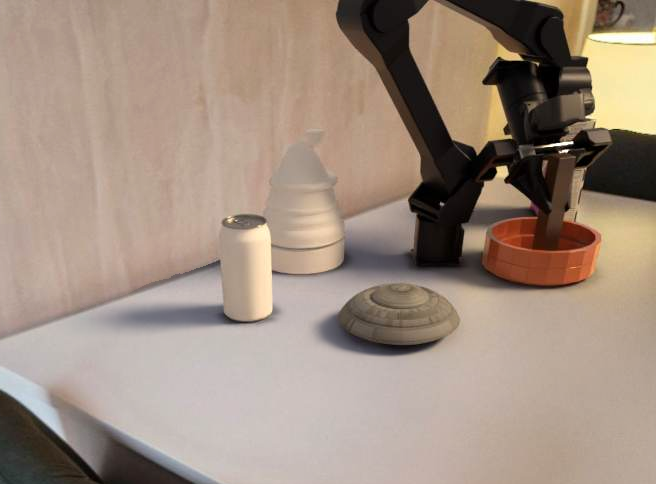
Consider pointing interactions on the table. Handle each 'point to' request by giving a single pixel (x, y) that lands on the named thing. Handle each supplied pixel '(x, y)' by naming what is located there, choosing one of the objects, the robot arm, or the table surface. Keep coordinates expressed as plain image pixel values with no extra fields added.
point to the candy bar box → (578, 173)
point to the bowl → (540, 253)
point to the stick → (554, 201)
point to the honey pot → (304, 212)
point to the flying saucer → (399, 315)
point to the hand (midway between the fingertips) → (558, 212)
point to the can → (246, 267)
